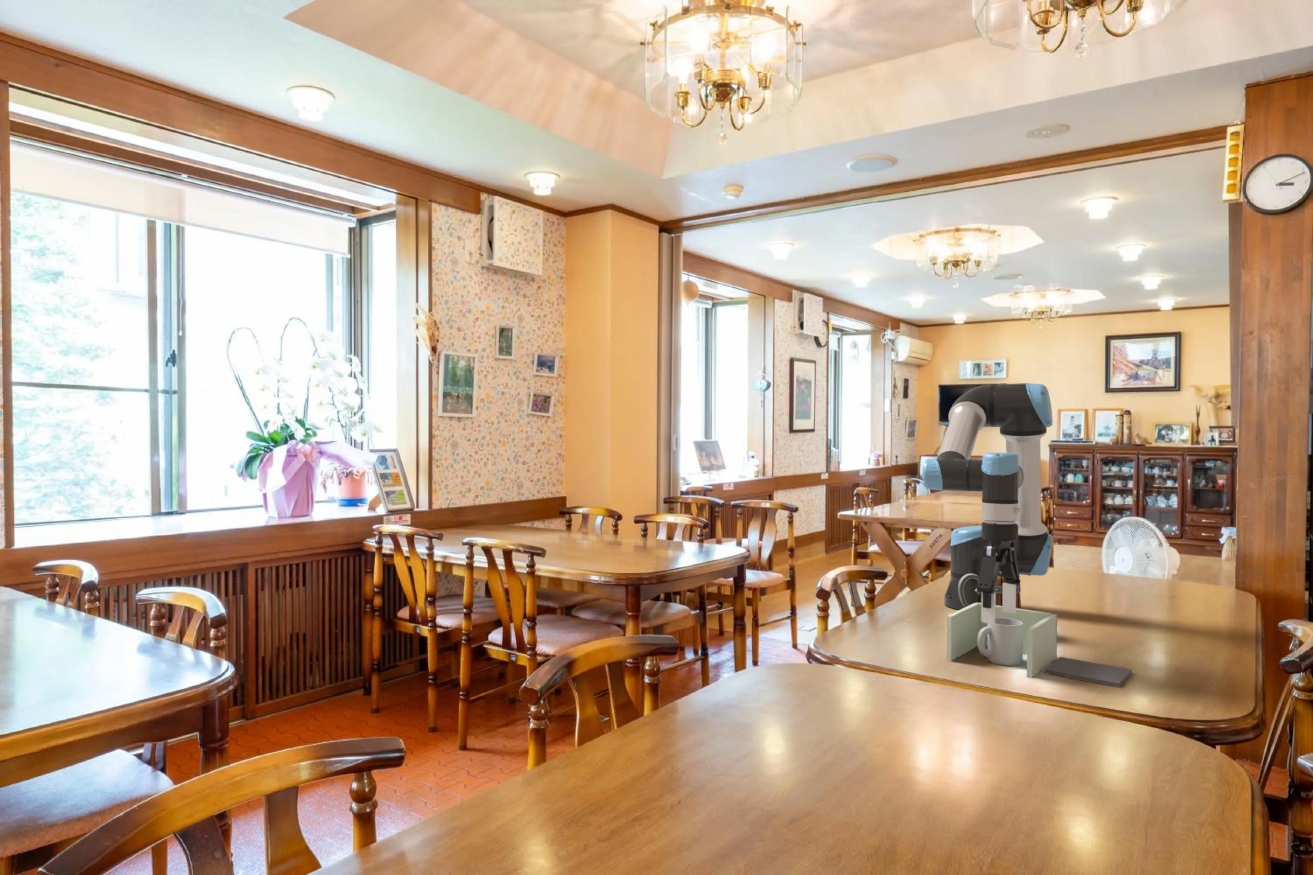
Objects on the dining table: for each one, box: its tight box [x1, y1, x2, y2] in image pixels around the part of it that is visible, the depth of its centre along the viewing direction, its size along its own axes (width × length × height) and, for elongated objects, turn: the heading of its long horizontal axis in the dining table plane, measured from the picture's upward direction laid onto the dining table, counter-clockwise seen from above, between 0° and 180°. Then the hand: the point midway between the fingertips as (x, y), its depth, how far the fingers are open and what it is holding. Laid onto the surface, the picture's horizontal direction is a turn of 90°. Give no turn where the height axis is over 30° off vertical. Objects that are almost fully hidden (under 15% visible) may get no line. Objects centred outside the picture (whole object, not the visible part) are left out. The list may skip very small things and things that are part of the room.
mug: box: [958, 572, 1022, 609], centre depth 201 cm, size 16×11×15 cm
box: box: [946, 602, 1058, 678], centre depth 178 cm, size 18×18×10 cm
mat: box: [1043, 656, 1133, 688], centre depth 168 cm, size 14×12×1 cm
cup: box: [977, 618, 1024, 667], centre depth 176 cm, size 7×10×9 cm
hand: (998, 617), depth 176 cm, fingers open, 13 cm apart
